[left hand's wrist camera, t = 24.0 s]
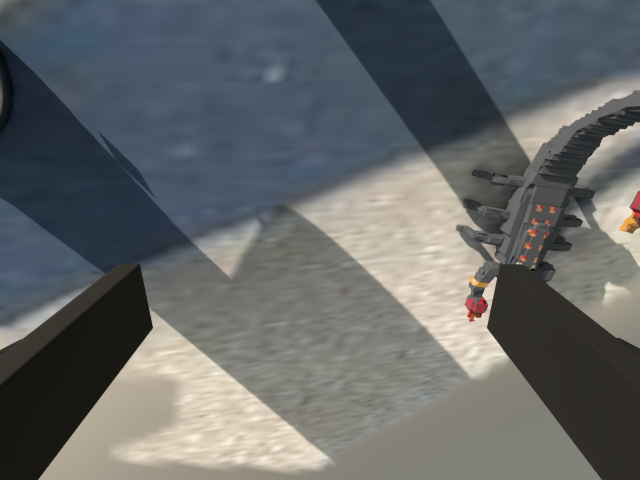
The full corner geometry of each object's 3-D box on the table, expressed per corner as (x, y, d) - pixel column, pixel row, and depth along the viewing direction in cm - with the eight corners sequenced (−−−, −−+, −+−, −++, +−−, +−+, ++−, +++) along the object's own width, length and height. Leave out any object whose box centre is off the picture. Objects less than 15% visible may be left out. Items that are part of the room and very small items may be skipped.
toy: (619, 103, 37) (877, 100, 20) (530, 314, 46) (653, 435, 29) (499, 84, 36) (658, 64, 19) (433, 302, 46) (501, 418, 29)
